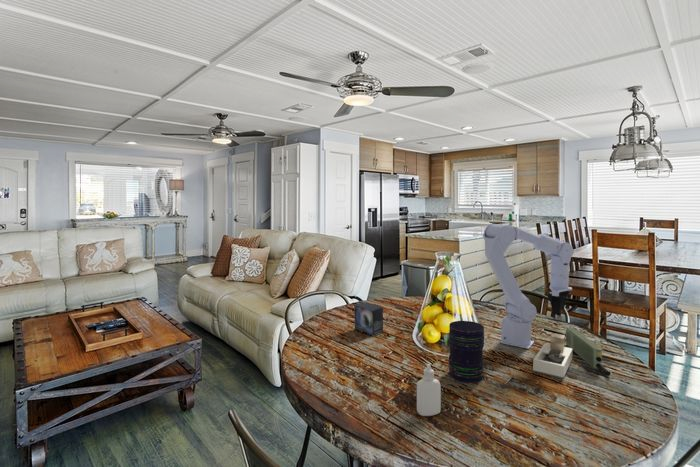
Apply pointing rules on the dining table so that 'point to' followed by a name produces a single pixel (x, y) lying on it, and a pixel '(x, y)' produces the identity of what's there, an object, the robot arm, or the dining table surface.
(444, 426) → the dining table surface
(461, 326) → the storage jar
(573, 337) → the handheld radio
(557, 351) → the keyhole peg
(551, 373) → the white hollow rectangular frame
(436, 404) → the eye dropper bottle
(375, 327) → the small box
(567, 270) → the robot arm
